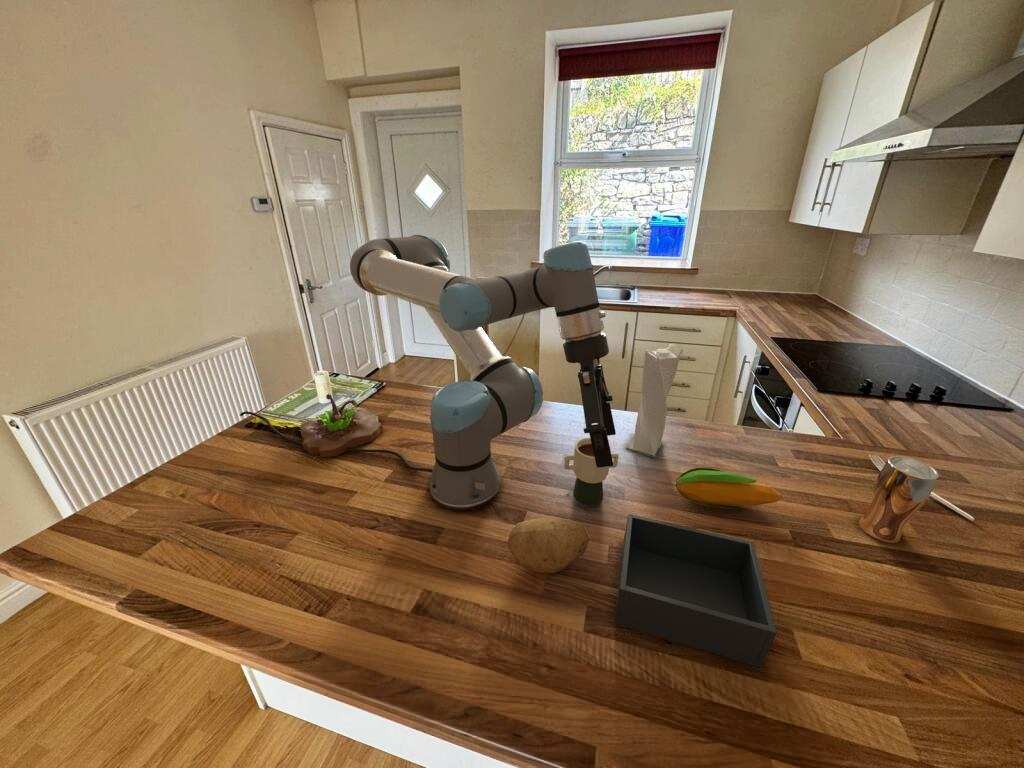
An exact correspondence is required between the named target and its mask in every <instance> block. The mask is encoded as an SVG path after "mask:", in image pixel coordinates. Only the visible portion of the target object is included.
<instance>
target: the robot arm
mask: <svg viewBox="0 0 1024 768" xmlns="http://www.w3.org/2000/svg"><path fill="white" fill-rule="evenodd" d="M448 257H449V253H448V250H447V249H446V247H445V246H444V244H443V243H442V242H441V241H440V240H439V239H438V238H437V237H434V236H432V235H429V234H427V235H426V234H413V235H410V236H400V237H398V236H397V237H385V238H373V239H370V240H368V241H365V242H363V243H362V244H360V245H359V246H358V247H357V248H355V251H354V252H353V254H352V255H351V258H350V262H349V270H350V274H351V277H352V279H353V281H354V282H355V284H356V285H357V286H358V287H359V288H361V290H363V291H365V292H367V293H369V294H373V295H375V296H379V297H380V296H381V297H383V296H388V295H389V296H391V297H394V298H397V299H400V300H401V301H402V300H403V301H405V302H408V303H410V304H413V305H416V306H419V307H422V308H424V310H425V311H426V313H427V314H428V316H429V317H430V319H431V320H432V322H433V323H434V325H435V326H436V328H437V329H438V330H439V332H440V333H441V335H442V336H443V338H444V339H445V341H446V343H447V344H448V346H449V347H450V349H451V350H452V352H453V353H454V354H455V356H456V357H457V359H458V360H459V362H460V363H461V365H462V366H463V368H464V369H465V371H466V372H467V374H468V376H469V377H470V378H469V379H470V380H463V381H460V380H458V381H454V382H451V383H448V384H446V385H444V386H442V387H441V388H439V389H438V390H437V391H436V392H435V393H434V395H433V396H432V398H431V401H430V416H429V421H430V426H431V432H432V440H433V450H434V458H435V459H434V464H433V468H428V467H416V466H413V465H411V464H409V462H408V461H407V460H406V459H405V458H404V456H403V455H402V454H401V453H398V452H396V451H393V450H391V449H390V450H389V449H372V448H371V449H367V448H347V449H346V452H353V453H354V452H358V453H382V454H383V453H384V454H390V455H394V456H396V457H397V458H398V459H400V461H401V462H402V463H403V465H404V466H405V467H406V468H407V469H410V470H412V471H415V472H416V471H417V472H426V473H431V475H430V478H429V493H430V497H431V499H432V500H433V502H434V503H436V504H437V505H438V506H440V507H441V508H444V509H446V510H449V511H454V512H469V511H474V510H477V509H478V510H479V509H481V508H483V507H485V506H486V505H488V504H490V503H491V502H493V501H494V500H495V499H496V497H497V496H498V494H499V493H500V490H501V477H500V473H499V471H498V469H497V465H496V463H495V461H494V459H493V457H492V451H491V449H492V448H491V447H492V446H491V445H492V444H491V443H492V440H493V439H495V438H496V437H498V436H501V435H502V434H504V433H505V432H508V431H509V430H511V429H514V428H515V427H516V426H518V425H520V424H523V423H526V422H527V421H529V419H530V418H531V419H532V417H534V416H535V415H537V413H539V412H540V410H541V408H542V406H543V402H544V397H543V396H544V389H543V385H542V382H541V380H540V378H539V376H538V375H537V374H536V372H535V371H533V369H531V368H530V367H529V368H528V367H526V366H518V365H517V364H516V363H515V361H514V359H512V357H511V356H504V355H502V354H501V352H500V351H499V350H498V348H496V346H495V345H494V343H493V341H492V340H491V339H490V338H489V336H488V334H487V333H486V332H485V330H484V328H483V327H485V326H487V325H492V324H495V323H498V322H502V321H504V320H508V319H512V318H515V317H518V316H523V315H525V314H529V313H534V312H536V311H541V310H546V309H549V308H554V311H555V317H556V322H557V325H558V326H557V327H558V332H559V336H560V338H561V339H562V340H564V341H563V343H562V348H563V352H564V357H565V361H566V362H567V363H569V364H579V365H580V368H579V371H578V372H577V378H578V381H579V389H580V394H581V402H582V409H583V416H584V423H585V428H583V433H584V434H589V438H590V439H591V444H592V448H593V453H594V457H595V462H596V466H597V468H599V467H609V466H613V458H612V456H611V453H612V451H610V449H611V445H610V441H609V436H616V435H617V431H616V427H615V422H614V417H613V413H612V412H613V411H612V407H611V402H613V395H610V392H609V389H608V386H607V382H606V379H605V374H604V367H603V364H601V363H602V362H601V359H602V358H604V357H606V356H607V355H609V353H610V349H609V344H608V339H607V338H608V337H607V334H606V333H604V332H602V331H603V330H604V329H605V325H604V320H603V319H604V318H606V317H607V315H606V313H605V311H601V307H600V306H601V305H600V301H599V296H598V291H597V286H596V279H595V271H594V265H593V263H592V259H591V256H590V252H589V247H588V245H587V243H586V242H583V241H572V242H568V243H564V244H559V245H557V246H553V247H550V248H548V249H547V250H545V251H544V252H543V255H542V257H543V264H541V265H540V266H536V267H532V268H530V269H526V270H522V271H517V272H511V273H507V274H501V275H497V276H491V277H486V278H473V277H470V276H465V275H463V274H458V273H454V272H451V270H450V269H451V261H450V259H449V258H448ZM600 311H601V312H600ZM244 415H250V416H254V417H256V418H258V419H260V420H263V421H264V422H265V423H266V425H267V426H268V428H269V429H270V430H271V431H272V432H273V433H275V434H276V435H277V436H278V437H280V438H282V439H284V440H286V441H287V442H290V443H293V444H295V445H299V446H302V443H303V441H299V440H295V439H293V438H290V437H289V436H287V435H285V434H283V433H282V432H280V431H278V429H276V428H275V427H274V426H273V425H272V424H271V422H270V421H269V420H268V418H266V417H265V416H262V415H260V414H258V413H256V412H253V411H246V410H245V411H242V412H241V413H239V417H242V416H244Z"/></svg>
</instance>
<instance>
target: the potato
mask: <svg viewBox="0 0 1024 768" xmlns="http://www.w3.org/2000/svg"><path fill="white" fill-rule="evenodd" d="M590 541H591V537H590V535H589V533H588V531H587V529H586V527H585V525H583V524H582V523H579V522H577V521H576V520H573V519H568V518H556V517H541V518H540V517H539V518H533V519H528V520H524V521H520V522H517V524H515V525H514V526H513V527H512V528H511V530H510V532H509V536H508V540H507V545H508V549H509V551H510V554H511V555H512V557H513V559H514V560H515V561H516V562H517V563H518V564H520V565H521V566H522V567H523V568H524V569H526V570H529V571H531V572H534V573H542V574H555V573H558V572H561V571H563V570H564V569H566V568H567V567H568V566H570V565H572V564H573V563H574V562H577V560H579V559H580V558H581V556H583V554H585V552H586V550H587V548H588V546H589V543H590Z"/></svg>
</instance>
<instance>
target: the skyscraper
mask: <svg viewBox="0 0 1024 768" xmlns="http://www.w3.org/2000/svg"><path fill="white" fill-rule="evenodd" d="M671 347H676V348H678V349H679V350H680V352H679V354H678V356H677V355H676V354H674V353H673V352H671V351H670V349H669V348H671ZM683 351H684V350H683V347H681V346H680V345H678V344H676V343H670V344H669V345H668V346H667V347H666V348H656V350H650V349H646V350H645V352H644V358H643V359H644V360H643V366H642V375H641V376H642V377H641V399H640V403H639V407H638V409H637V410H638V411H637V417H636V422H635V428H634V434H633V436H632V438H631V440H630V441H629V443H628V444H627V446H626V447H625V449H626V450H629V451H632V452H634V453H639V454H640V455H643V456H647V457H651V458H654V459H655V458H656V455H657V454H658V452H659V450H660V448H661V446H662V444H663V437H664V433H665V428H666V422H667V413H668V403H667V402H668V401H667V399H668V395H669V393H670V391H671V388H672V385H673V383H674V381H675V377H676V374H677V370H678V366H679V362H680V358H681V355H682V354H683Z"/></svg>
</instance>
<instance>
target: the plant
mask: <svg viewBox="0 0 1024 768" xmlns="http://www.w3.org/2000/svg"><path fill="white" fill-rule="evenodd" d="M325 399H327V400H330V404H331V411H328V410H325V411H324V413H321V414H319V415H317V414H316V415H315V417H314V418H311V419H309V420H306V421H305V422H303V423H301V424H300V426H299V430H300V436H301V439H302V445H301V446H302V449H303V450H304V451H308V454H309V455H311V456H312V455H313V456H314V455H319V456H320V458H333V457H334V458H335V457H338V456H340V455H342V454H344V453H346V452H347V451H346V449H347V448H352V449H355V448H356V447H359V446H362V445H364V444H369V443H371V442H373V441H374V440H375V439H376V438H378V437H379V436H380V434H381V433H382V432H383V431H384V428H383V424H382V423H381V422H380V419H379V418H380V417H379V416H378V415H376V414H374V413H372V412H370V411H369V410H367V409H365V408H363V407H359V406H358V401H357V400H353V399H351V400H347V401H345V402H344V403H343V404H342V406H341V407H340V406H337V404H336V402H335V399H334V397H333V395H332V394H331V393H327V394H326V395H325ZM348 404H351V405H352V406H354V407H346V406H347V405H348Z"/></svg>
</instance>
